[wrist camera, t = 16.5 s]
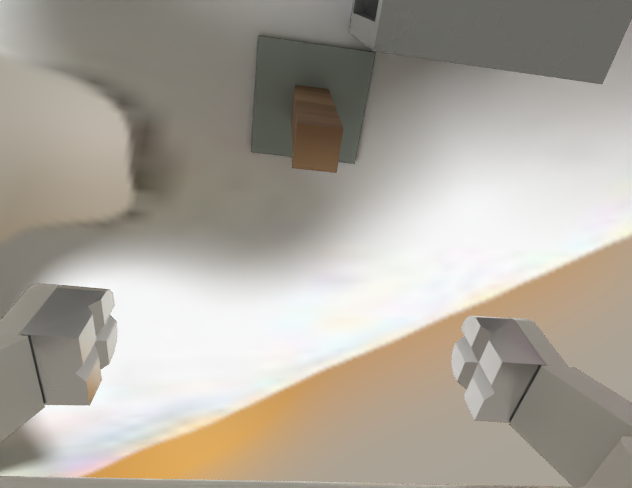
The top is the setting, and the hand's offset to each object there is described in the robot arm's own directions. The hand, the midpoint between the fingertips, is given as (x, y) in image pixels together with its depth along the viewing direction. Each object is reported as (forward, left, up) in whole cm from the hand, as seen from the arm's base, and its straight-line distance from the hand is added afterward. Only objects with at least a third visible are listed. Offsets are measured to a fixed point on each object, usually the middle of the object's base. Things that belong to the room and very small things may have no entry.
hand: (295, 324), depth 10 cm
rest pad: (0, -1, -25) cm, 25 cm away
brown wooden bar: (0, -1, -24) cm, 24 cm away
